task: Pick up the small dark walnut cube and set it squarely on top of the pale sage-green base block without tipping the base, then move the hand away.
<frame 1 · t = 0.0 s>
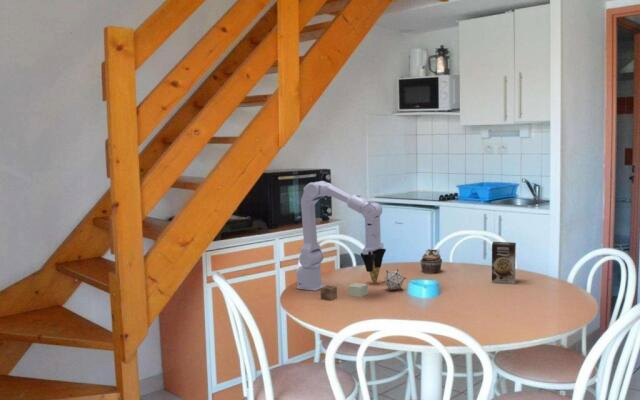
hand: (373, 269, 223), 10 cm above the table, tool pointing down, fingers open, 7 cm apart
walnut cube: (329, 298, 221), on the table
base block: (358, 295, 225), on the table
ice cream cone: (375, 284, 241), on the table
game die: (394, 290, 230), on the table
cupcake: (431, 272, 259), on the table
coffee box: (503, 282, 237), on the table
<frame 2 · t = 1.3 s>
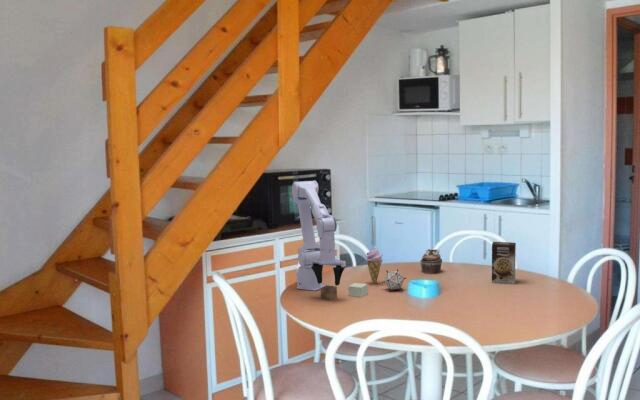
hand: (328, 284, 221), 6 cm above the table, tool pointing down, fingers open, 7 cm apart
nothing on the table moved.
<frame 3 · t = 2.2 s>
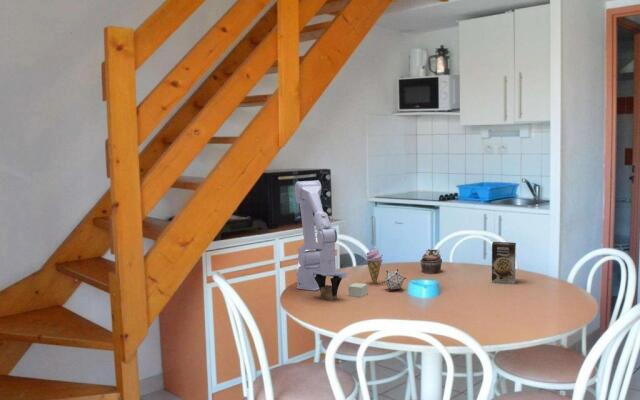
hand: (328, 294, 221), 1 cm above the table, tool pointing down, fingers closed on walnut cube, 4 cm apart
walnut cube: (329, 298, 221), on the table, touching gripper
everything else where it was.
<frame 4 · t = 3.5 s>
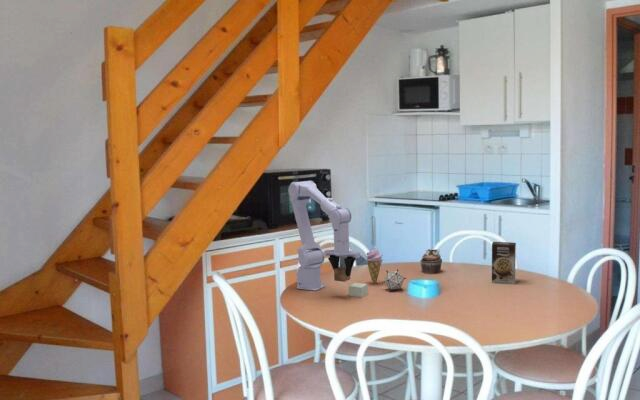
hand: (342, 275, 222), 8 cm above the table, tool pointing down, fingers closed on walnut cube, 4 cm apart
walnut cube: (342, 279, 222), point 7 cm above the table, touching gripper
everything else where it was.
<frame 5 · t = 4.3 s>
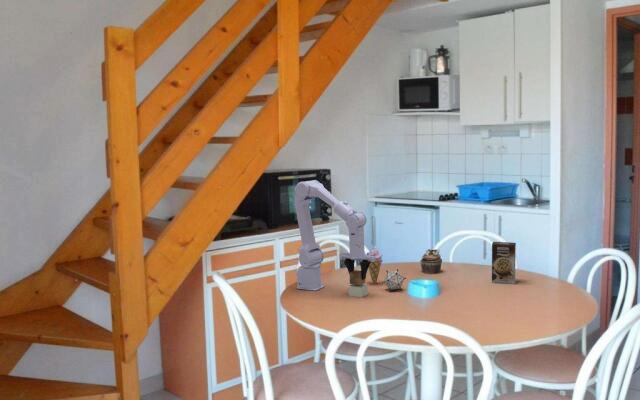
hand: (357, 278, 224), 6 cm above the table, tool pointing down, fingers closed on walnut cube, 4 cm apart
walnut cube: (357, 283, 224), point 5 cm above the table, touching gripper
everything else where it was.
when the fingers open (6 cm above the table, at t = 4.6 s): walnut cube stays where it is, resting on base block.
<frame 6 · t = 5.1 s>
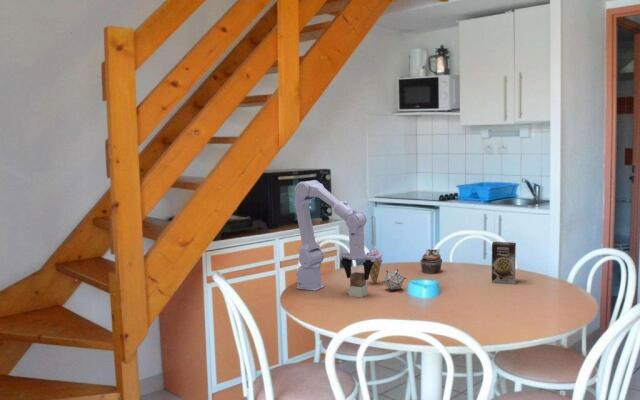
hand: (357, 278, 224), 6 cm above the table, tool pointing down, fingers open, 7 cm apart
walnut cube: (358, 285, 225), point 4 cm above the table, touching base block
base block: (358, 295, 225), on the table, touching walnut cube
everything else where it was.
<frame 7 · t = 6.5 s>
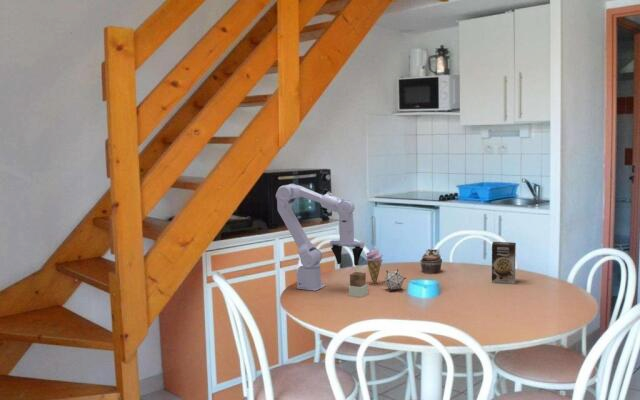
hand: (347, 264, 232), 10 cm above the table, tool pointing down, fingers open, 7 cm apart
walnut cube: (358, 285, 225), point 4 cm above the table
base block: (358, 295, 225), on the table
everything else where it was.
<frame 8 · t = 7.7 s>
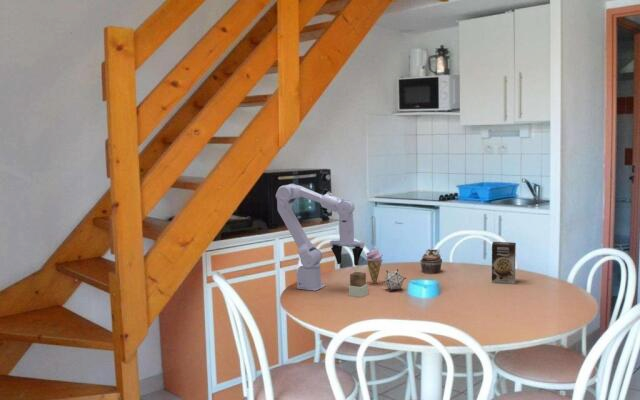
hand: (347, 264, 232), 10 cm above the table, tool pointing down, fingers open, 7 cm apart
walnut cube: (358, 284, 225), point 4 cm above the table, touching base block
base block: (358, 295, 225), on the table, touching walnut cube
everything else where it was.
at the end: walnut cube 0.4 cm off-centre on the base block, point 4.0 cm above the base block's base; base block tilted 0°; walnut cube tilted 0° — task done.
